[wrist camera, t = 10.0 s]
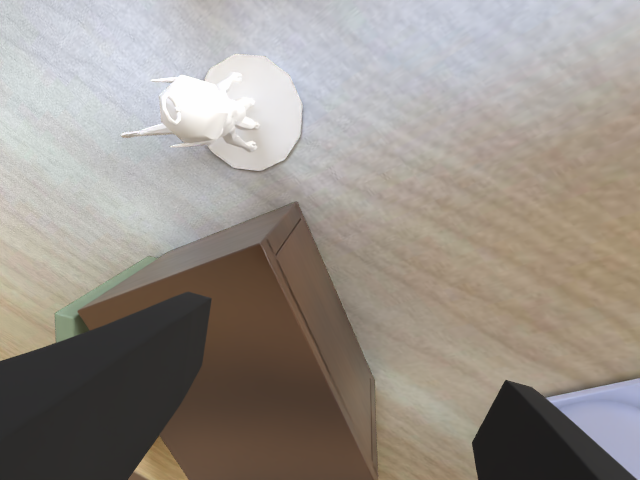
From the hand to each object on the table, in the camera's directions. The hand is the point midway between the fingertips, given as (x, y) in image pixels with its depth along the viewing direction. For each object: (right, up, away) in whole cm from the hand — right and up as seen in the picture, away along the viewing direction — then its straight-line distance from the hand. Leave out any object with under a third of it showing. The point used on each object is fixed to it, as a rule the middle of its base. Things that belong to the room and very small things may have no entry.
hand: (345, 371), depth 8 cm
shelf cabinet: (-3, -1, +11) cm, 12 cm away
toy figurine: (-5, +9, +8) cm, 13 cm away
